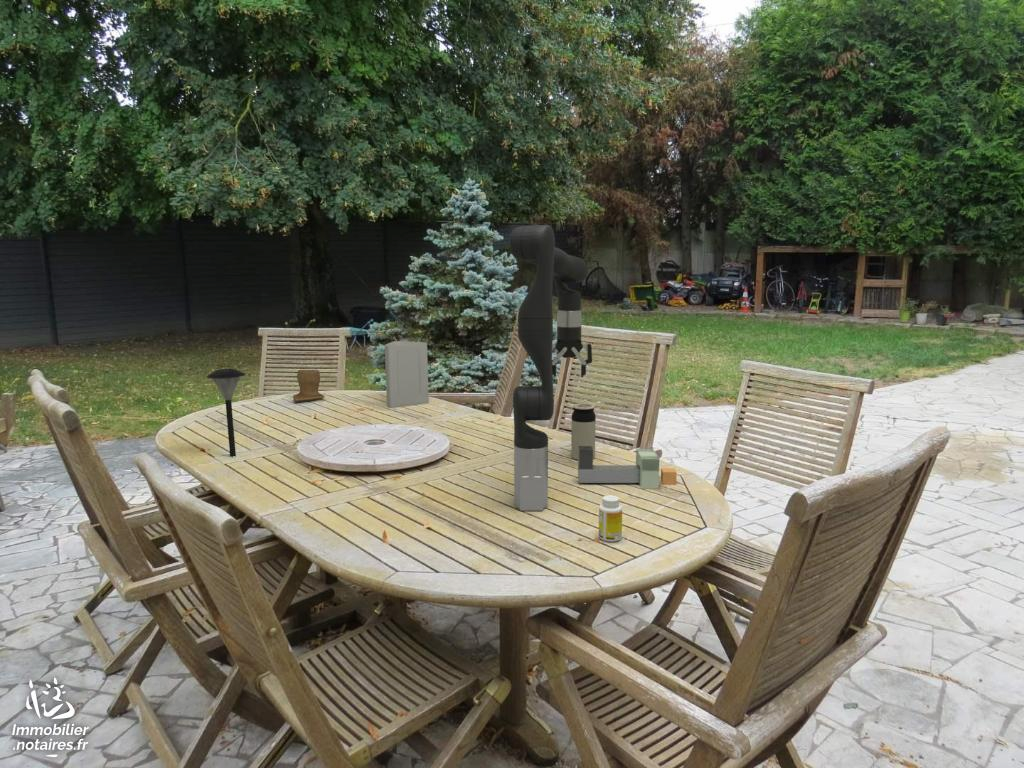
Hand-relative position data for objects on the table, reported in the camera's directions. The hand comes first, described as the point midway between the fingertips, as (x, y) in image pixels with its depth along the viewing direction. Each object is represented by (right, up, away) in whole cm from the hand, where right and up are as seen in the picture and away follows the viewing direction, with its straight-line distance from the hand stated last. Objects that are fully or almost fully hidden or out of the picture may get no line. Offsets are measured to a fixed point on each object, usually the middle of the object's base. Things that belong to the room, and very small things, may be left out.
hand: (568, 376), depth 214 cm
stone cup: (-115, -10, +112) cm, 161 cm away
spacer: (+27, -30, -8) cm, 41 cm away
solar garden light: (-114, -27, +22) cm, 119 cm away
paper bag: (-68, -11, +105) cm, 126 cm away
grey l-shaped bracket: (+13, -31, -7) cm, 35 cm away
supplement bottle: (+6, -40, -47) cm, 62 cm away
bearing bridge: (+23, -32, -8) cm, 40 cm away
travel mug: (+6, -27, +18) cm, 34 cm away
